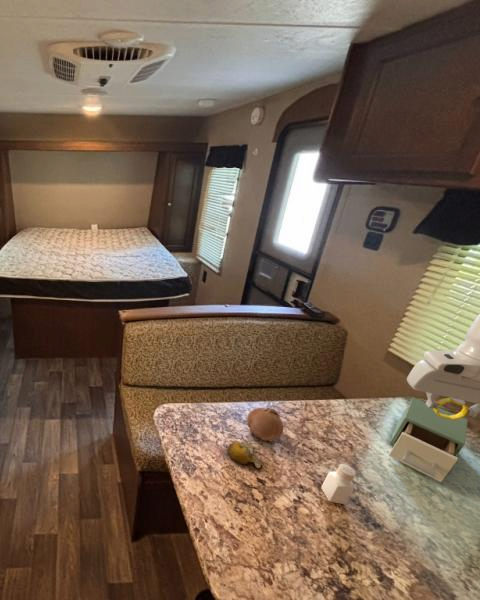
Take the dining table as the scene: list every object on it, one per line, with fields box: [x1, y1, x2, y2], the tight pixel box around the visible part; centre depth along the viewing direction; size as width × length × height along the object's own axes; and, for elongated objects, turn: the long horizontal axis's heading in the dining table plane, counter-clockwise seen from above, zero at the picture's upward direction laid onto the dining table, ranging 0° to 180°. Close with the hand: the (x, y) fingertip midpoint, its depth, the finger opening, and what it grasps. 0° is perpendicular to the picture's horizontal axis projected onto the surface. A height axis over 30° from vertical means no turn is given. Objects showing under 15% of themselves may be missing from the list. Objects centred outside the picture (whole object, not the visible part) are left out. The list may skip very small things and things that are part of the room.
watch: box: [433, 397, 469, 420], centre depth 81 cm, size 6×3×6 cm, turn 71°
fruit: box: [226, 441, 262, 470], centre depth 87 cm, size 8×8×4 cm
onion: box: [246, 407, 284, 442], centre depth 94 cm, size 10×9×10 cm
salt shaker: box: [321, 463, 357, 505], centre depth 76 cm, size 4×4×10 cm
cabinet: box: [389, 396, 468, 457], centre depth 93 cm, size 15×12×10 cm
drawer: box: [388, 422, 459, 483], centre depth 87 cm, size 18×10×8 cm, turn 129°
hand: (448, 410), depth 81 cm, fingers closed on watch, 6 cm apart
